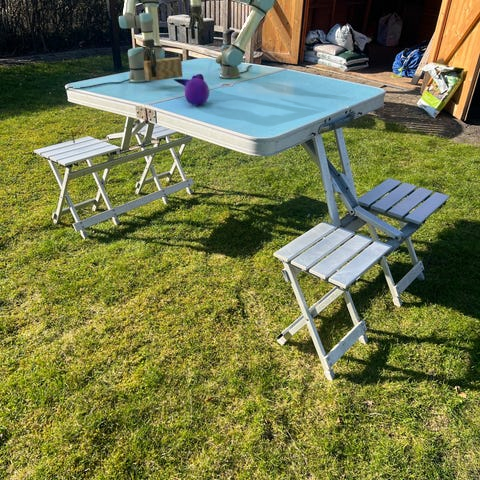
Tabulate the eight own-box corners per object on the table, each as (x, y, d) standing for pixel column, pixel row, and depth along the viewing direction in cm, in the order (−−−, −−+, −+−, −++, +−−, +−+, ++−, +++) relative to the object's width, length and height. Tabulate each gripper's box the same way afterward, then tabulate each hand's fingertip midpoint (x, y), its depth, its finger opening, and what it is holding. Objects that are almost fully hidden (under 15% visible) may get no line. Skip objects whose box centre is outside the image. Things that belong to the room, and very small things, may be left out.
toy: (197, 96, 290) (209, 111, 269) (171, 92, 283) (181, 106, 262) (203, 71, 282) (215, 85, 261) (175, 66, 275) (186, 79, 254)
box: (149, 81, 303) (147, 62, 297) (145, 79, 308) (143, 61, 302) (182, 76, 315) (181, 58, 308) (178, 75, 320) (176, 57, 313)
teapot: (219, 71, 369) (218, 51, 361) (212, 69, 377) (212, 49, 370) (241, 68, 378) (241, 49, 370) (234, 66, 386) (234, 47, 379)
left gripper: (159, 40, 289) (163, 77, 301) (147, 37, 303) (151, 72, 315) (148, 41, 285) (152, 79, 297) (137, 38, 300) (141, 74, 312)
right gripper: (209, 6, 298) (211, 41, 308) (192, 5, 316) (194, 37, 327) (199, 6, 294) (201, 41, 305) (182, 5, 313) (185, 38, 323)
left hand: (152, 75), depth 306 cm, fingers closed on box, 7 cm apart
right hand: (197, 39), depth 316 cm, fingers open, 13 cm apart
